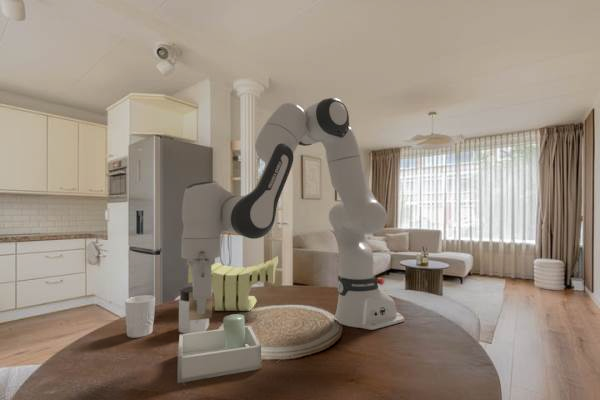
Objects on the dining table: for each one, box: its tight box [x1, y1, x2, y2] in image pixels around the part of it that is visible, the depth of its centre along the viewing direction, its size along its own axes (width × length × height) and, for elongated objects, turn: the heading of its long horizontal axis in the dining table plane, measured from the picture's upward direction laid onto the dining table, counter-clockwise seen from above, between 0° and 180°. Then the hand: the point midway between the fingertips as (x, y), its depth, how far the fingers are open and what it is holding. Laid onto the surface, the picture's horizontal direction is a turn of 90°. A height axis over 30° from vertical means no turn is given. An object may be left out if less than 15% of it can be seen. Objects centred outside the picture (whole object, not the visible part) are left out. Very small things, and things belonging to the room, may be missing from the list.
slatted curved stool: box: [187, 255, 279, 312], centre depth 117 cm, size 30×16×18 cm, turn 88°
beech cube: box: [189, 292, 213, 321], centre depth 73 cm, size 5×5×5 cm
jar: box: [178, 285, 210, 334], centre depth 95 cm, size 9×8×12 cm
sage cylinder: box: [223, 313, 246, 350], centre depth 75 cm, size 5×5×9 cm
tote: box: [177, 325, 262, 384], centre depth 74 cm, size 18×14×5 cm
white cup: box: [124, 294, 156, 339], centre depth 91 cm, size 8×8×10 cm
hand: (200, 309), depth 73 cm, fingers closed on beech cube, 5 cm apart
